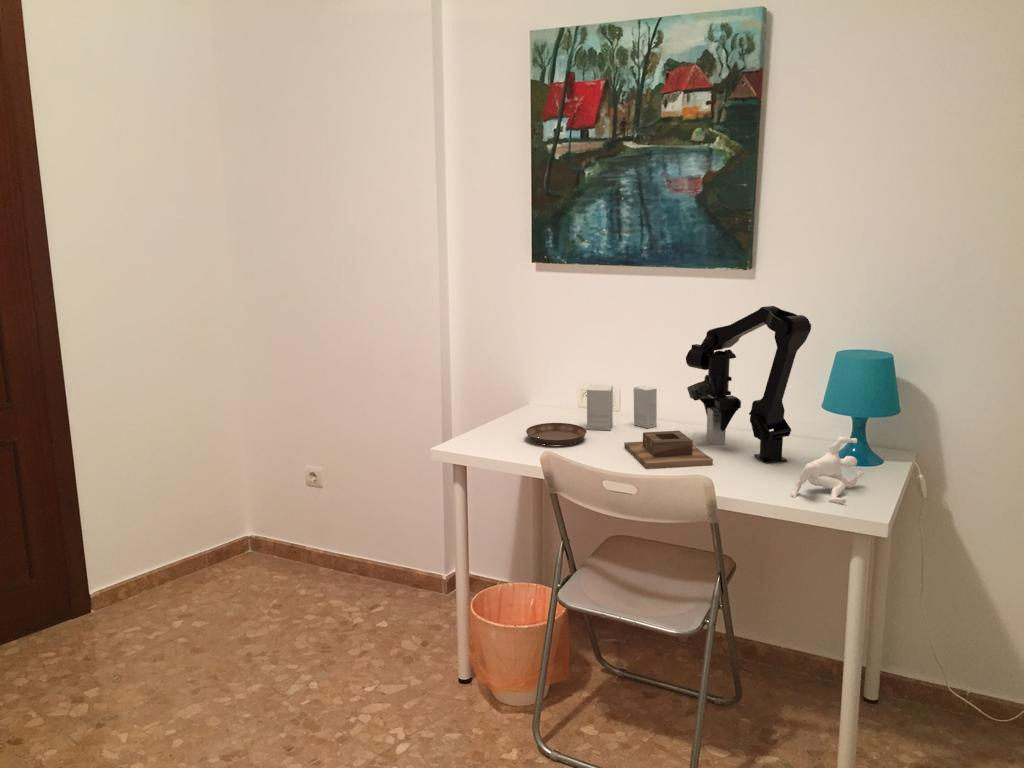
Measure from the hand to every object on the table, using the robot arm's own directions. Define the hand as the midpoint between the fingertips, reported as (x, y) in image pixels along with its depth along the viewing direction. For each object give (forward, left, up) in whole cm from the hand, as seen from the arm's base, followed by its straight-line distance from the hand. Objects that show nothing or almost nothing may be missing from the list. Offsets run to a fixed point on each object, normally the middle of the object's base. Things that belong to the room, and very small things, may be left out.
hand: (716, 426), depth 238 cm
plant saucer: (+12, +44, -5) cm, 46 cm away
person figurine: (-44, -9, -5) cm, 45 cm away
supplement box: (+23, +28, -5) cm, 37 cm away
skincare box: (+22, +14, -5) cm, 27 cm away
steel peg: (0, 0, -5) cm, 5 cm away
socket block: (-10, +18, -5) cm, 21 cm away
